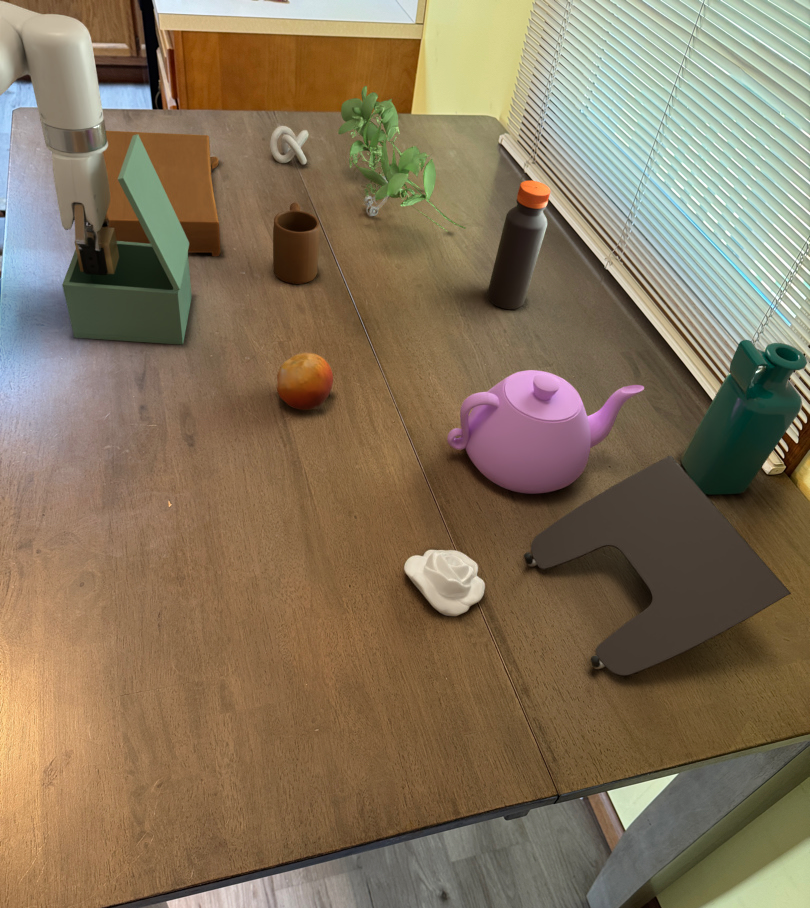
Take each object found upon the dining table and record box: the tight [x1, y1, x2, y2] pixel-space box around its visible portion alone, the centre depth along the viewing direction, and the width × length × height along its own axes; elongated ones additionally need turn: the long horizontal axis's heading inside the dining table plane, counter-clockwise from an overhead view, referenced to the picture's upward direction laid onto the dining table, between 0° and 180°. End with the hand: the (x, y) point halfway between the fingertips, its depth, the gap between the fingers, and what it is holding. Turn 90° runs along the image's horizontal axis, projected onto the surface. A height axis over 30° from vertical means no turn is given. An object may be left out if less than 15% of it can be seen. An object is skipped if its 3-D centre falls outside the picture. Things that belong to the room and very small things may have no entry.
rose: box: [403, 549, 486, 617], centre depth 92 cm, size 10×4×10 cm
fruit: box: [276, 352, 334, 411], centre depth 110 cm, size 8×8×8 cm
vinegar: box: [486, 180, 551, 310], centre depth 128 cm, size 7×7×20 cm
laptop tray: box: [523, 454, 792, 677], centre depth 94 cm, size 23×23×9 cm
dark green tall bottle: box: [680, 339, 808, 496], centre depth 105 cm, size 10×8×22 cm
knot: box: [269, 125, 309, 165], centre depth 156 cm, size 8×8×6 cm
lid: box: [118, 134, 189, 291], centre depth 107 cm, size 16×13×1 cm
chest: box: [61, 241, 193, 346], centre depth 115 cm, size 16×13×9 cm
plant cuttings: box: [337, 85, 467, 233], centre depth 145 cm, size 35×17×22 cm
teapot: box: [446, 369, 645, 495], centre depth 105 cm, size 25×18×14 cm
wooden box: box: [103, 130, 222, 257], centre depth 138 cm, size 23×6×35 cm
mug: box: [272, 202, 321, 285], centre depth 130 cm, size 12×8×9 cm, turn 7°
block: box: [74, 227, 119, 274], centre depth 110 cm, size 5×5×5 cm
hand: (99, 262), depth 111 cm, fingers closed on block, 4 cm apart
